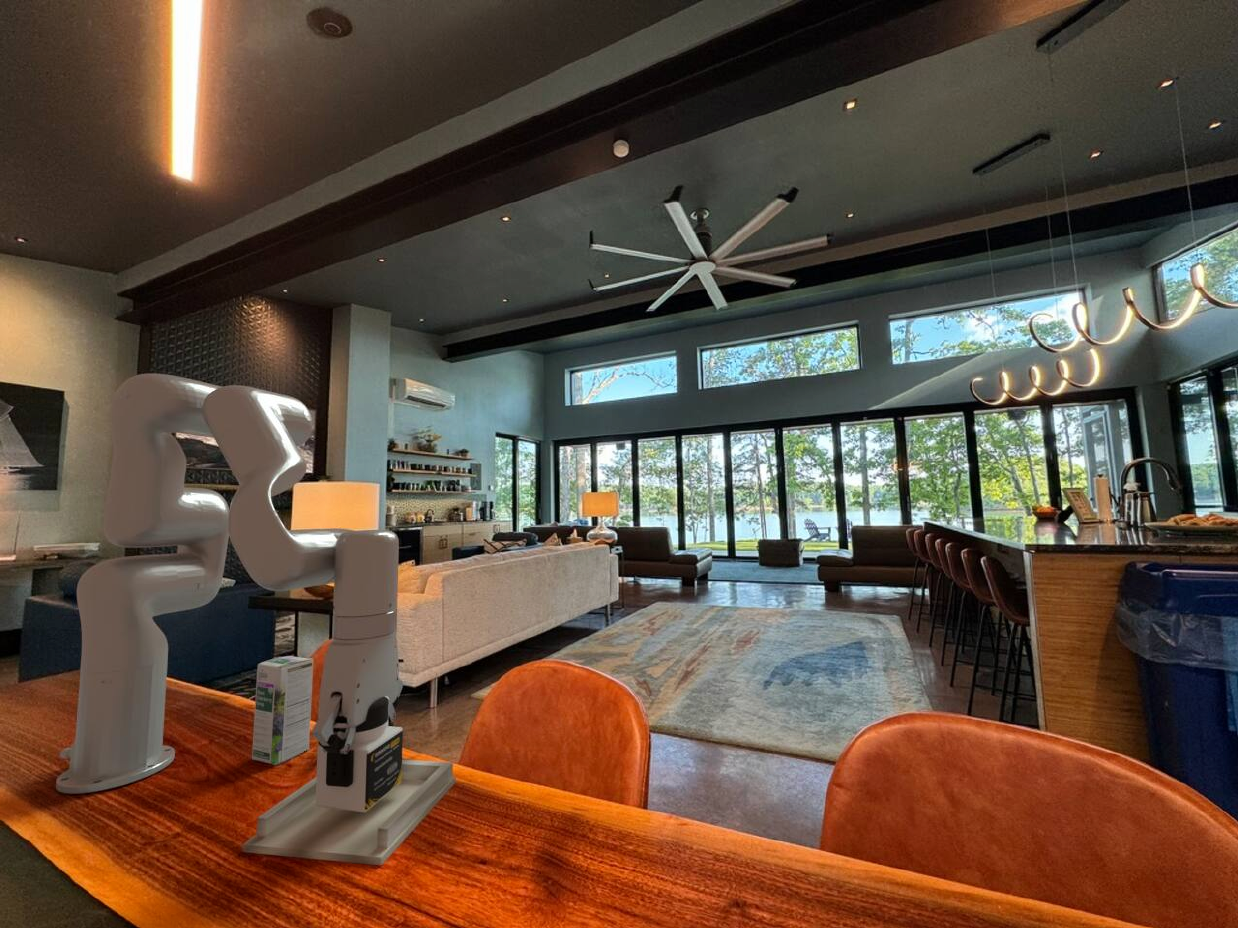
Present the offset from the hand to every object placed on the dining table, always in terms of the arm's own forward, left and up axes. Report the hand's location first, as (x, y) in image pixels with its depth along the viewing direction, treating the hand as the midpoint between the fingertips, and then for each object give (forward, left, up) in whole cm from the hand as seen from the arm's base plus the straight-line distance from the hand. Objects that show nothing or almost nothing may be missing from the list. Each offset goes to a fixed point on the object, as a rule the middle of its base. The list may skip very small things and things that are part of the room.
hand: (361, 767), depth 65 cm
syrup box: (-23, +13, -6) cm, 27 cm away
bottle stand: (0, 0, -6) cm, 6 cm away
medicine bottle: (0, 0, -4) cm, 4 cm away
